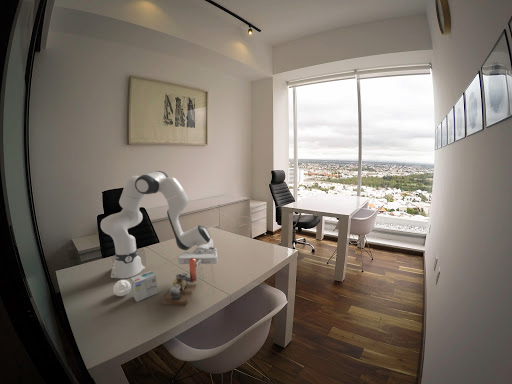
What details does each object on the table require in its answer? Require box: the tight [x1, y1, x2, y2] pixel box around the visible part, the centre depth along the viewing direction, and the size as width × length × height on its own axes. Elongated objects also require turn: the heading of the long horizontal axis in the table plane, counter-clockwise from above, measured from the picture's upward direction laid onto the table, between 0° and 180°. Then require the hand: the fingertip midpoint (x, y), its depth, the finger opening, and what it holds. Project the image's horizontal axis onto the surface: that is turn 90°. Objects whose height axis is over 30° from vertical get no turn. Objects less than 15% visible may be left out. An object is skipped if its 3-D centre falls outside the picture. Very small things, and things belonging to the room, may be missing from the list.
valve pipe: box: [168, 272, 189, 300], centre depth 118 cm, size 14×5×7 cm, turn 178°
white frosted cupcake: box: [112, 279, 132, 297], centre depth 120 cm, size 8×8×8 cm
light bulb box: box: [130, 270, 158, 303], centre depth 119 cm, size 11×7×11 cm, turn 134°
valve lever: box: [175, 258, 198, 284], centre depth 114 cm, size 3×13×13 cm, turn 62°
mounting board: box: [161, 283, 197, 306], centre depth 119 cm, size 16×12×2 cm
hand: (194, 265), depth 113 cm, fingers closed, pressing on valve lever
